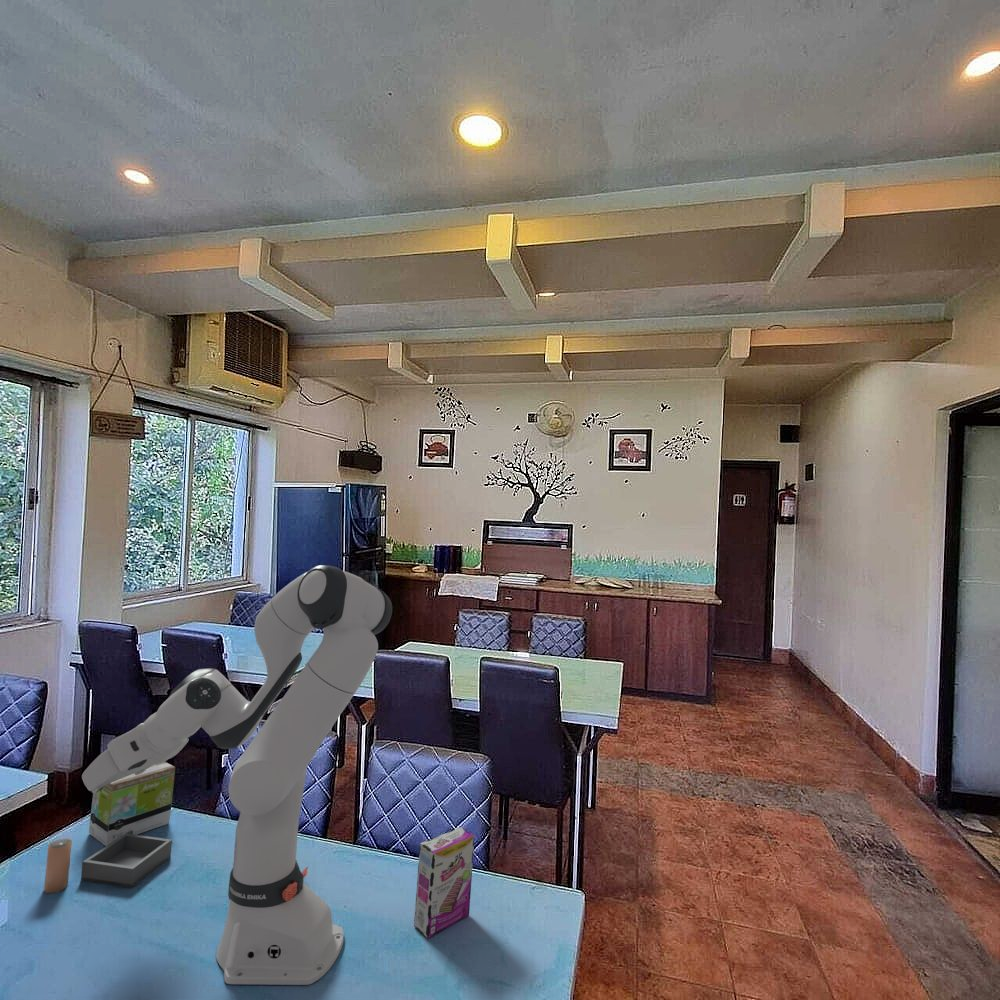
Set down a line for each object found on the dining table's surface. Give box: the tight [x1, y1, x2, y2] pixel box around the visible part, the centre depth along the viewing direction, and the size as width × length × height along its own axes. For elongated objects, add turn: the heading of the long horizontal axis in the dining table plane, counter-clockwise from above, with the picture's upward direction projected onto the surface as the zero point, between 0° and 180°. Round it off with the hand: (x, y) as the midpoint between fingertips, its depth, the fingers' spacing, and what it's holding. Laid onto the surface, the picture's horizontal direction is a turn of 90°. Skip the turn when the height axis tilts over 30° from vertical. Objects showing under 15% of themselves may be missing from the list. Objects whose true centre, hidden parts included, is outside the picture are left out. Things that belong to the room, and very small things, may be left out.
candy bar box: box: [413, 826, 476, 939], centre depth 118 cm, size 11×5×16 cm, turn 135°
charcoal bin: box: [80, 833, 173, 889], centre depth 129 cm, size 12×12×4 cm
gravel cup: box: [43, 838, 73, 894], centre depth 121 cm, size 4×4×9 cm
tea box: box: [88, 761, 176, 847], centre depth 146 cm, size 15×10×15 cm, turn 147°
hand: (116, 780), depth 120 cm, fingers open, 8 cm apart
